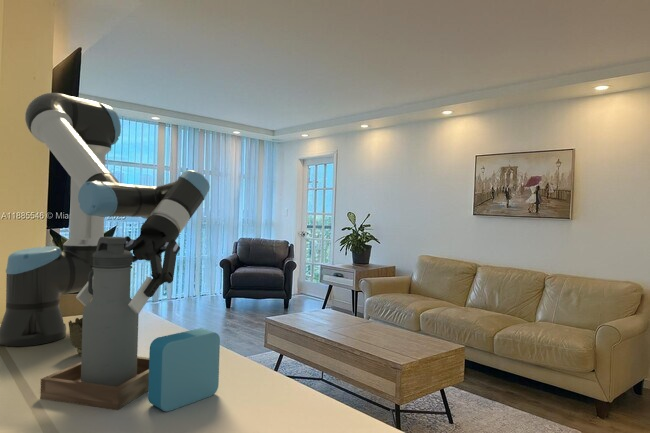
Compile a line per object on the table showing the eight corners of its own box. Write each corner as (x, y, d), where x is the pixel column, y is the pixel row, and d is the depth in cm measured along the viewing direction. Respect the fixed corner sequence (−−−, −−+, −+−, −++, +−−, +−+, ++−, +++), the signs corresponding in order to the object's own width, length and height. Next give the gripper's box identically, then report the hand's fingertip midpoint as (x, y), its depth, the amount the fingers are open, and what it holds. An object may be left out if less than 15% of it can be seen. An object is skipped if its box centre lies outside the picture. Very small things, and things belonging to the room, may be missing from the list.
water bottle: (74, 378, 87) (78, 235, 87) (126, 368, 94) (130, 235, 93) (88, 396, 80) (92, 239, 79) (144, 383, 86) (148, 238, 86)
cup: (88, 360, 101) (89, 325, 101) (60, 357, 102) (61, 322, 102) (110, 350, 108) (111, 317, 108) (83, 347, 110) (84, 315, 109)
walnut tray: (103, 368, 96) (103, 352, 96) (169, 377, 92) (170, 360, 92) (40, 398, 80) (40, 378, 80) (117, 409, 77) (117, 389, 77)
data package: (204, 387, 88) (206, 326, 88) (218, 393, 85) (220, 331, 85) (147, 406, 78) (149, 338, 78) (161, 414, 76) (163, 344, 76)
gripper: (218, 239, 96) (167, 324, 83) (131, 234, 106) (72, 309, 92) (203, 215, 91) (146, 300, 78) (113, 211, 101) (48, 287, 87)
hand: (106, 305), depth 85 cm, fingers open, 13 cm apart
